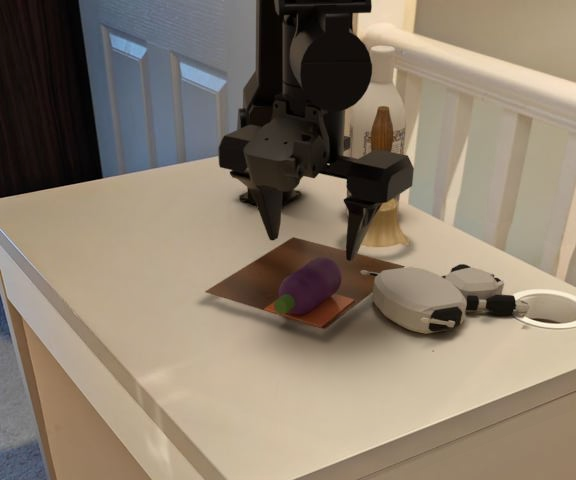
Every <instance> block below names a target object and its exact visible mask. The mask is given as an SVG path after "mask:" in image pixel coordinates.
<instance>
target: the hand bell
mask: <svg viewBox="0 0 576 480" xmlns="http://www.w3.org/2000/svg"><path fill="white" fill-rule="evenodd" d="M392 144H393V125H392V121H391V117H390V112H389V107H386V106H380V107H378V110H377V114H376V117H375V120H374V123H373V126H372V130H371V151H373V150H375V149H377V150H382V151H388V152H391V150H392ZM400 244H401V245H403V246H404V245H405V246H408V247H410V241H409V239H408V236H407V235H406V234H404V232H403V230H402V229H401V226H400V221H399V213H398V214H397V202H396V201H395V200H394V199H391V200H390V201H388V202H387V203H383V204H382V206H381V207H380V209H379V210H378V212H377V214H376V215H375V217H374V219H373V221H372V223H371V225H370V227H369V229H368V231H367V233H366V235H365V238H364V240H363V242H362V244H361V246H364V247H371V248H389V247H394V246H397V245H400Z"/></svg>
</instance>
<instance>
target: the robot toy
mask: <svg viewBox="0 0 576 480" xmlns="http://www.w3.org/2000/svg"><path fill="white" fill-rule="evenodd" d="M360 272H361V273H362V274H363V275H373V276H376V277H375V280H374V287H373V292H372V293H371V294H372V295H371V299H372V301H373V303H374V305H375V306H376V307H377V308H378V309H379V311H380V312H381V313H382V314H383V315H384V316H385V318H387V319H389V320H390V321H392V322H394V323H395V324H397V325H399V327H403V328H405V329H407V330H409V331H412V332H415V333H420V334H424V335H427V334H432V333H433V334H434V333H438V332H439V333H440V332H445V331H450V330H455V329H456V328H458V327H459V326H460V325H461V324H462V323H463V322H464V319H465V315H466V314H465V313H476V312H483V311H489V312H491V313H493V314H494V315H497V316H513V314H514V311H516V312H519V313H527V312H528V311H529V310H530V304H529V303H528V301H526V300H523V299H519V298H518V299H516V297H515V295H513V294H512V295H511V294H503V290H504V286H505V282H504V280H503V279H500V278H499V277H495V273H491V272H488V271H485V270H483V269H481V268H476V267H473V266H472V267H471V266H470V265H468V264H465V263H459V264H457V265H455V266H453V267H451V269H450V271H449V273H448V274H446V275H439V274H437V273H435V272H432V271H430V270H427V269H424V268H420V267H415V266H406V267H404V268H398V269H391V270H383V271H382V272H381V273H374V272H368V271H366V270H362V271H360Z"/></svg>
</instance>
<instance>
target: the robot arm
mask: <svg viewBox="0 0 576 480" xmlns="http://www.w3.org/2000/svg"><path fill="white" fill-rule="evenodd" d="M372 5H373V4H372V0H255V71H254V72H253V73H252V75H251V76H250V78H249V79H248V81H247V82H246V84H245V85H244V87H243V89H242V107H239V108H238V109H237V121H236V130H234V131H231V132H229V133H227V134H225V135H223V137H222V138H221V140H220V143H219V145H218V147H217V153H218V154H217V155H218V166H219V168H221V169H224V170H229V174H230V177H231V178H233V179H236V180H238V181H239V182H240V183H242V184H243V185H244V186H245V187H246V191H245V192H244V193H242V194H240V195H238V198H239V201H243V202H246V203H250V204H255V205H256V207H257V210H258V213H259V215H260V219H261V221H262V224H263V226H264V229H265V231H266V234H267V237H268V239H269V241H272V242H273V241H276V240H277V239H278V238H279V235H280V234H279V233H280V229H281V222H282V209H283V206H285V205H287V204H288V203H290V202H292V201H294V200H295V199H297V198H299V197H301V196H302V191H301V190H297V189H296V188H297V187H298V186H299V185H300V183H301V180H302V178H304V177H305V178H310V179H316V178H317V177H318V175H319V174H320V175H324V176H330V177H333V178H338V179H343V180H346V185H345V186H346V190H347V189H348V190H349V192H350V193H351V195H350V196H348V197H347V196H346V197H345V198H343V203H344V205H345V208H346V207H347V209H348V211H349V215H348V216H347V229H346V240H345V251H346V259H347V260H348V261H351V260H352V259H354V258H355V256H356V254H358V252H359V250H360V249H361V246H362V245H361V244H362V242H363V240H364V238H365V235H366V233H367V231H368V229H369V227H370V225H371V223H372V221H373V219H374V217H375V215H376V214H377V212H378V210H379V209H380V207H381V206H382V204H383V203H387V202H388V201H390V200H391V199H393V198H395V197H396V196H398V195H399V194H400V195H401V194H402V193H404V192H405V191H407V190H408V189H410V188H411V187H413V182H414V170H415V168H414V165H413V164H412V161H411V159H410V157H409V155H408V154H404V153H403V154H398V153H393V152H388V151H382V150H377V149H375V150H373V151H371V152H370V153H368V154H366V155H364V156H362V157H361V158H359V159H356V158H351V157H348V156H347V155H346V156H345V155H344V152H346V151H349V149H350V146H351V137H349V135H348V136H347V135H345V128H346V127H345V125H346V110H348V109H349V108H351V107H354V105H355V104H356V103H357V102H358V101H359V100H360V99H361V98H362V97H363V95H364V94H365V92H366V91H367V89H368V86H369V84H370V81H371V76H372V63H371V59H370V51H369V50H368V48H367V46H366V44H365V43H364V42H363V41H362V40H361V38H360V37H359V36H358V35H357V34H356V33H355V32H354V24H353V22H354V21H353V20H354V19H353V18H354V14H372V8H373V7H372Z"/></svg>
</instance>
